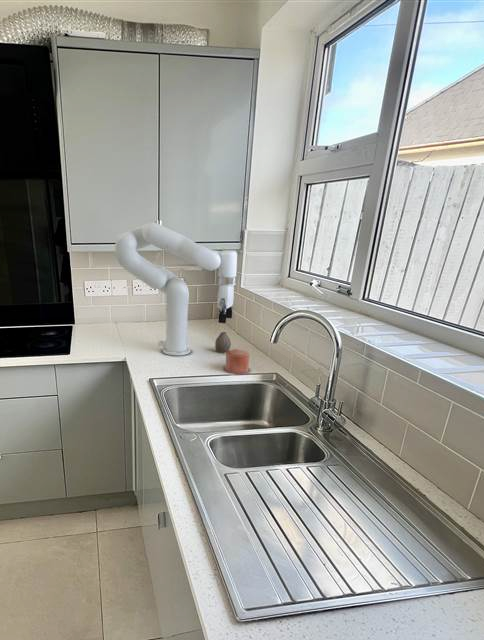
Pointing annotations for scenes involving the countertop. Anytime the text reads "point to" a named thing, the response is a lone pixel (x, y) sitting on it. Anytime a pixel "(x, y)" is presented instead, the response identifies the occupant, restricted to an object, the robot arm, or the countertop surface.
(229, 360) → the upturned mug
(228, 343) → the vase
